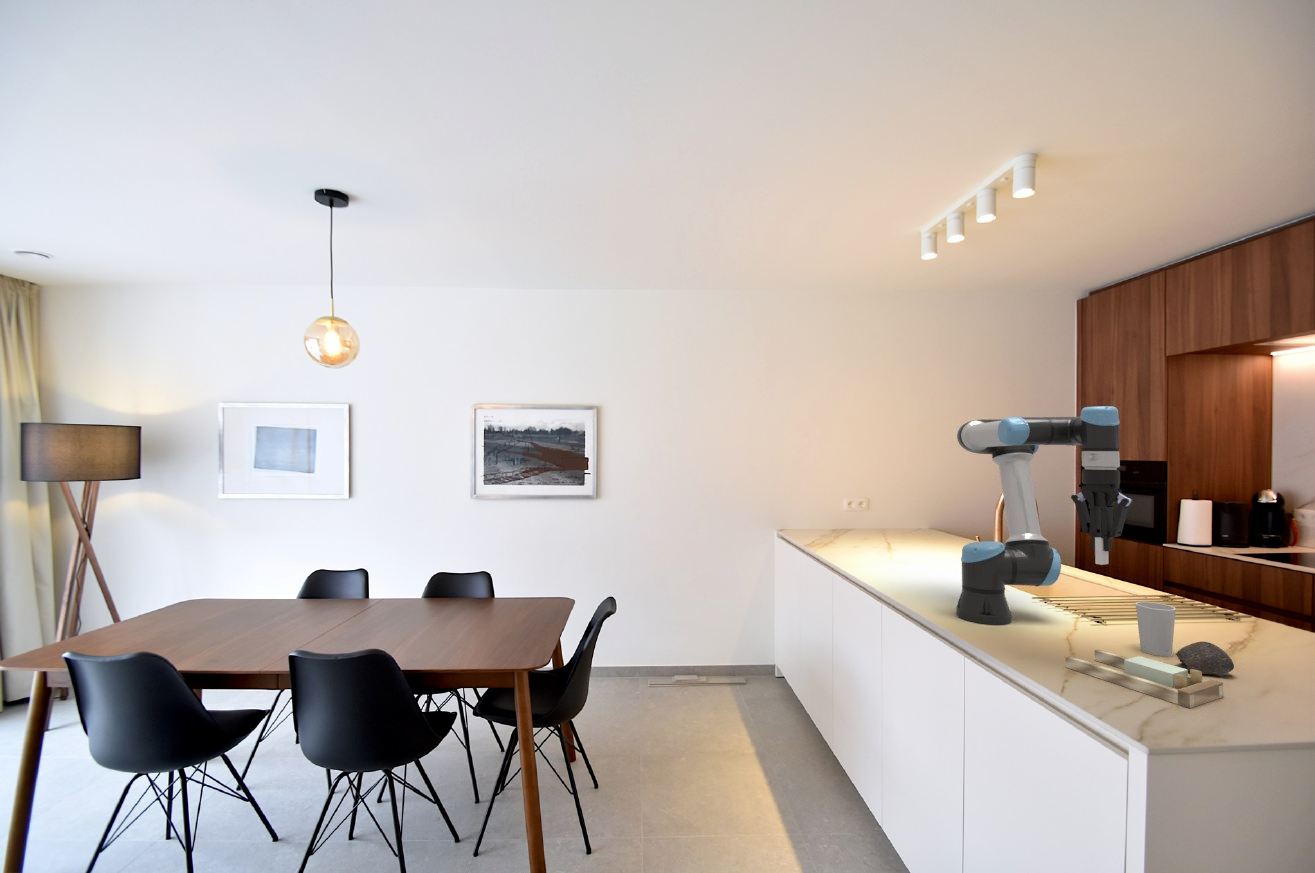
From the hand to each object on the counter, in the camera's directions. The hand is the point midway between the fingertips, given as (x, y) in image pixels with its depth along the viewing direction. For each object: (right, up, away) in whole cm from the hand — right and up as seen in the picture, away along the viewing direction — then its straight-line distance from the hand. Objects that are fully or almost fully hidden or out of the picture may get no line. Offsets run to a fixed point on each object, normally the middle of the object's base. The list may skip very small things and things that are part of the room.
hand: (1101, 563), depth 142 cm
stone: (+20, -25, -6) cm, 32 cm away
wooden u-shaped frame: (0, -24, -12) cm, 27 cm away
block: (+1, -24, -14) cm, 28 cm away
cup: (+20, -25, +7) cm, 32 cm away
